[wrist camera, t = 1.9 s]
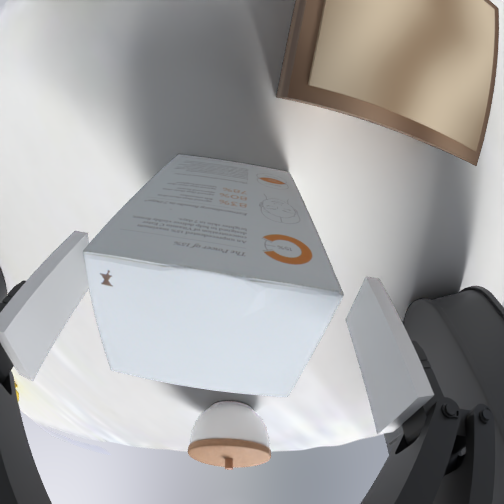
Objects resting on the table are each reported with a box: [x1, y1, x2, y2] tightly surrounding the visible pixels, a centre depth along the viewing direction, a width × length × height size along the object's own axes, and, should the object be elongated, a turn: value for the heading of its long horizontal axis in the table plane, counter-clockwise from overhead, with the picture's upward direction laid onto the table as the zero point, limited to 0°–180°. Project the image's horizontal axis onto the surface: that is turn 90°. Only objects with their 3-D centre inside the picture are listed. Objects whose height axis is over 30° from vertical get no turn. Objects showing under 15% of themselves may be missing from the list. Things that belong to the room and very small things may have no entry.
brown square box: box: [276, 0, 499, 166], centre depth 11 cm, size 12×12×6 cm
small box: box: [83, 154, 343, 397], centre depth 15 cm, size 8×6×13 cm
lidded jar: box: [188, 401, 271, 470], centre depth 32 cm, size 11×11×9 cm
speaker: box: [384, 286, 504, 504], centre depth 19 cm, size 25×9×25 cm, turn 9°
